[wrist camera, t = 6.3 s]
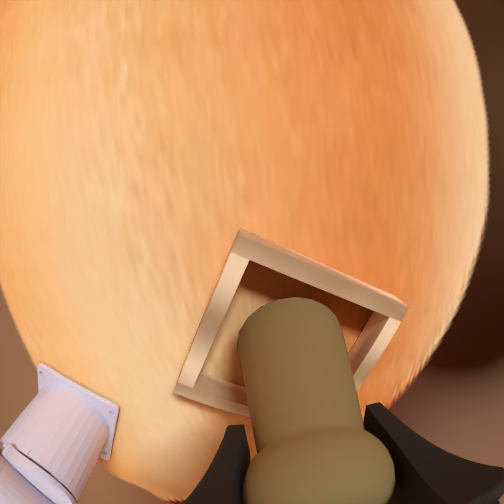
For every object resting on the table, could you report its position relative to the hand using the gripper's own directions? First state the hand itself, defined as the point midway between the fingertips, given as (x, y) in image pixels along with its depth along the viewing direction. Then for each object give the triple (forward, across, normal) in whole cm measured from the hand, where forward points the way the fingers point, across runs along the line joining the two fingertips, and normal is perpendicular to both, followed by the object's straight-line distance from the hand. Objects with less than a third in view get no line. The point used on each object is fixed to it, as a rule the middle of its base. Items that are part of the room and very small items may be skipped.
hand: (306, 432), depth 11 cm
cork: (+6, 0, -1) cm, 6 cm away
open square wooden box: (+8, 0, 0) cm, 8 cm away
